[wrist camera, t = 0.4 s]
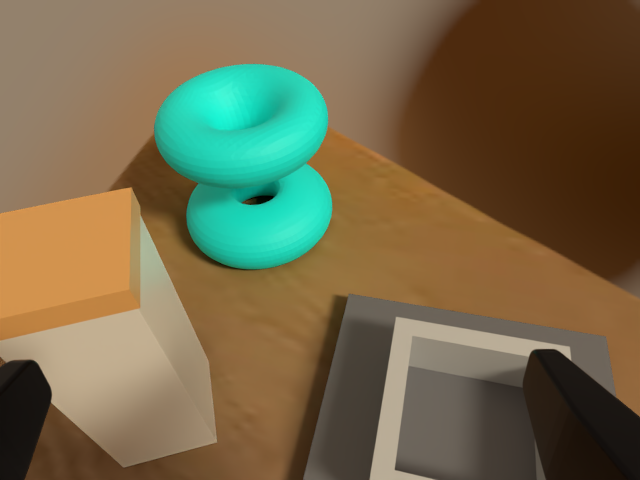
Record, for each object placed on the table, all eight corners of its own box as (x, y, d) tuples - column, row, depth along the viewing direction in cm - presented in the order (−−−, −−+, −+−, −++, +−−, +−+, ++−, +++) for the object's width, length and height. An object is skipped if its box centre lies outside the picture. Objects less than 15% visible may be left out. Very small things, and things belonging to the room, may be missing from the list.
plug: (219, 443, 24) (129, 289, 14) (121, 470, 23) (-41, 327, 14) (210, 359, 27) (131, 187, 18) (123, 381, 27) (-7, 214, 17)
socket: (650, 681, 18) (711, 682, 15) (283, 573, 20) (271, 556, 17) (598, 346, 26) (629, 304, 24) (349, 303, 29) (348, 261, 26)
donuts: (264, 39, 32) (364, 102, 26) (281, 160, 39) (361, 229, 33) (119, 95, 28) (199, 182, 22) (168, 217, 35) (238, 305, 30)
